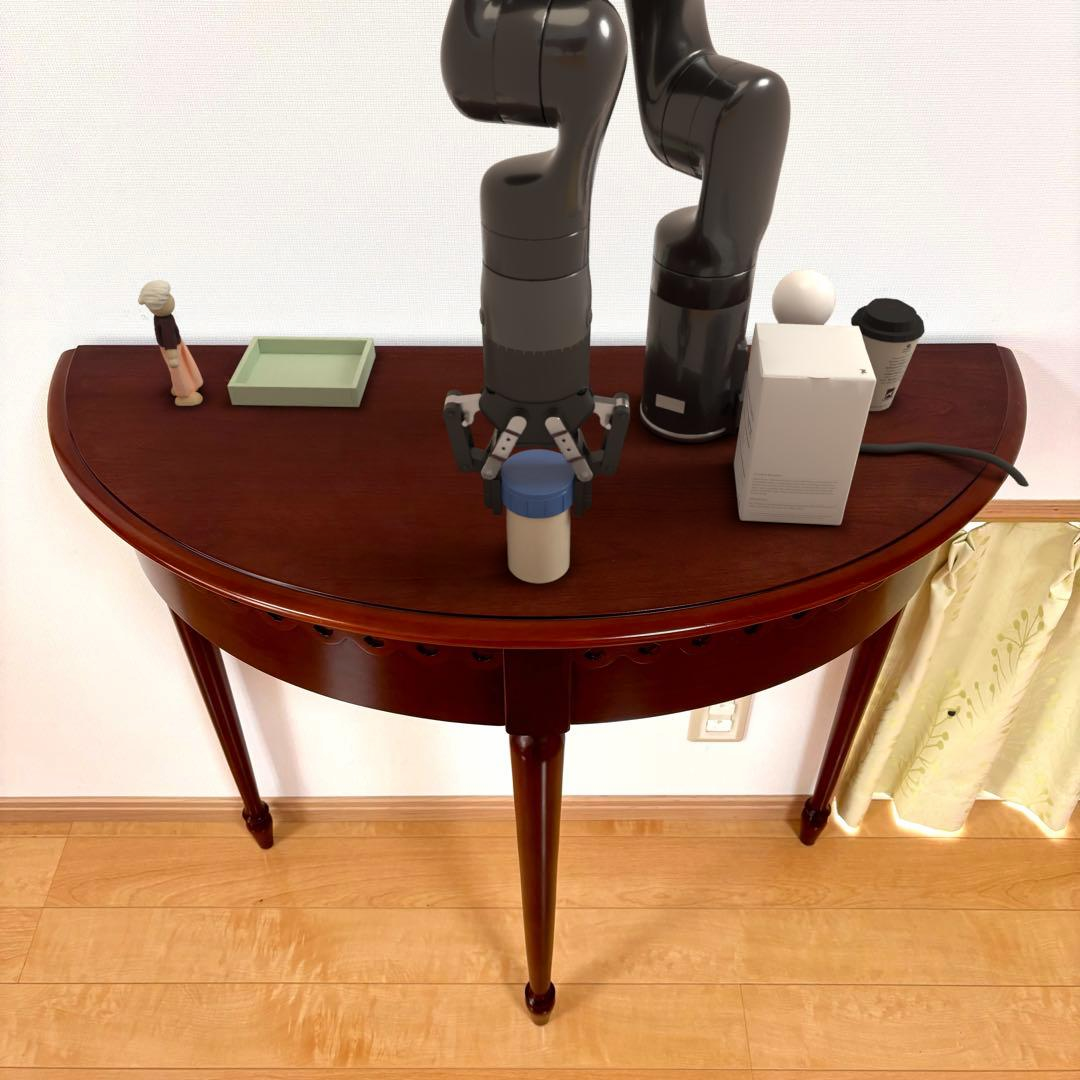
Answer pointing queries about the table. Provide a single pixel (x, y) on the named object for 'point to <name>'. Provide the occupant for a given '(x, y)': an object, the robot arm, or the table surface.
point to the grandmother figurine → (172, 343)
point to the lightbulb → (803, 298)
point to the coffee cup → (888, 343)
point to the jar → (538, 546)
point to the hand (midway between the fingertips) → (537, 508)
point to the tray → (303, 371)
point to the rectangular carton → (801, 422)
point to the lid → (537, 484)
